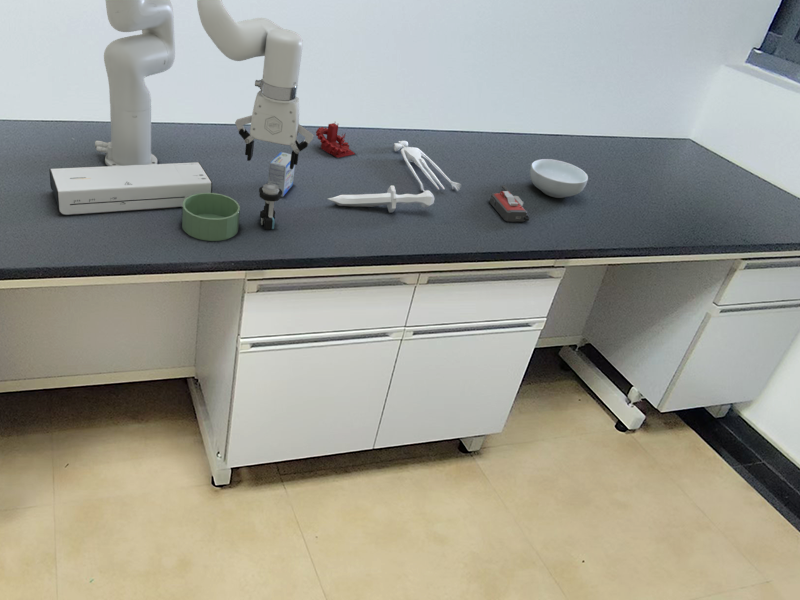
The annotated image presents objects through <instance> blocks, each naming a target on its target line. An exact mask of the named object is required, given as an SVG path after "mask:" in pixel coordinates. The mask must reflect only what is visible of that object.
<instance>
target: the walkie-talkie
mask: <svg viewBox="0 0 800 600" xmlns="http://www.w3.org/2000/svg"><path fill="white" fill-rule="evenodd" d="M505 185H506V184H502V185H501V189H502V191H500V192H492V193H491V195H490V197H489V198H490V199H489V203H490V205H491V206H492V207H493V208H494V209H495V211H496V212H497V213H498V214H499V215H500V217H501V218H502V219H503V220H504V221H505V222H507V223H508V222H509V223H510V222H515V223H521V222H522V223H523V222H525V221H526V222H529V221H530V220H531V219H530V216H529V215H528V213H529V212H528V211H527V210H526V209H525V208H524V207H523V206H524V201H522V199H521V198H520V196H519V195H515V194H513V193H512V192H511V191H510V190H509V188H507V186H505Z"/></svg>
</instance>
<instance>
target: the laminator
mask: <svg viewBox="0 0 800 600" xmlns="http://www.w3.org/2000/svg"><path fill="white" fill-rule="evenodd" d="M203 167H204V166H203V165H202V164H201V163H200V162H176V163H173V162H172V163H157V164H150V165H127V166H107V165H106V166H84V167H82V166H81V167H63V168H49V170H48V171H49V183H50V189H51V191H52V193H53V196H54V199H55V202H56V205H57V210H58V212H59V214H60V215H62V216H78V215H79V216H80V215H95V214H107V213H121V212H136V211H137V212H138V211H148V210H149V211H150V210H152V211H153V210H163V209H178V208H182V203H183V201H184V199H186V198H187V197H189V196H191V195H194V194H198V193H213V181H212V180H211V178H210V176H209V174H208V173H207V172H206V170H205V169H204V168H203Z"/></svg>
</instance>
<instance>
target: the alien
mask: <svg viewBox="0 0 800 600" xmlns="http://www.w3.org/2000/svg"><path fill="white" fill-rule="evenodd" d="M393 151H394V152H398V151H400V153H401V155H402V157H403V160H404V162H405V164H406V165H407V167H408V169H409V170H410V171H411V174H413V176H414V178H415V179H416V181H417V182H418V184H419V187H420V188H419V189H420V191H421V192H422V191H423V192H424V191H425V187H424V184H423V182H422V181H421V179H420V177H419V176H418V174H417V173H416V171H415V169H414V168H413V166H412V165H411V163H413V164H414V165H416V167H418V168H419V169H420V170H421V172H422V173H423V174H424V176H425V177H426V178H427V179H428V180H429V181H430V182H431V183H432V184H433V186H434V187H435V188H436V189H437V190H439V191H440V188H442V190H443V191H444V190H445V189H446V188H445V187H444V185H443V183H441V181H440V179H438V177H437V176H436V174H435V173H434V171H432V169H431V168H430V167H429V166H428V163H427V162H426V160H427V161H428V162H429V163H430V164H431V166H433V168H434V169H435V170H436V171H437V172H438V173H439V174H441V175H442V177H443V178H444V179H445V180H447V182H449V184H450V185H451V187H452V189H454V188H455V190H456V191H459V189H460V188H462V184H461V183H459V182H455V181H452V180H451V179H450V178H449V176H447V175H446V173H444V171H443V170H442V169H441V168H440V167H439V166H438V165H437V163H435V161H433V160H432V159H431V158H430V157H429V156H428V155H427V154H425V152H424V151H422V150H421V149H420V148H418V147H413V146H409V142H408V141H407V140H398V141H397V142H395V143H393ZM437 184H438V185H439V186H438V185H437Z"/></svg>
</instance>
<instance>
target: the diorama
mask: <svg viewBox="0 0 800 600" xmlns="http://www.w3.org/2000/svg"><path fill="white" fill-rule="evenodd" d="M338 131H339V123H335V122H333V123H328V124H327V127H323V126H321V127H318V128H317V130H316V131H315V136H316V137H317V139H318V140H319V142H320V144H321V145H320V149H321V150H322V151H324V152H326V153H328V154H329V155H332V156H334V157H335V158H337V159H339V158H343V157H349V156H353V155H354V156H355V155H356V154H355V152H354V151H352V150H351V149H350V144H349V143H348V142H345V141H346V140H345V138H346V133H341V135H339V134H338ZM325 135H326V136H325Z"/></svg>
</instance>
